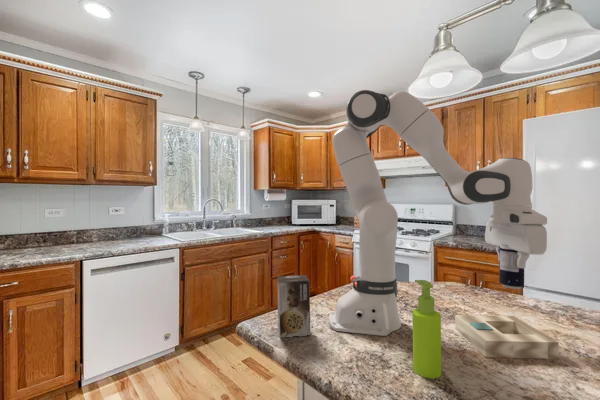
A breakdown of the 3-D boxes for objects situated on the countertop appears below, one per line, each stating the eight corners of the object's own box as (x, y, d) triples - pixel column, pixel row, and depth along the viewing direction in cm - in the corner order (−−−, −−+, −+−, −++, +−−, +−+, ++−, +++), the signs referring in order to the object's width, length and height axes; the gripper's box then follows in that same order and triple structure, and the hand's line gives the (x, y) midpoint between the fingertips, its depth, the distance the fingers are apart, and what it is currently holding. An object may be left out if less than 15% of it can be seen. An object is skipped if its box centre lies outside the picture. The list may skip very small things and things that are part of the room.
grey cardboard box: (306, 326, 89) (306, 274, 89) (310, 336, 83) (310, 280, 83) (277, 328, 88) (276, 275, 88) (279, 338, 81) (278, 281, 81)
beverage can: (528, 290, 78) (529, 246, 78) (505, 289, 79) (506, 245, 79) (516, 284, 84) (517, 243, 84) (495, 283, 85) (495, 242, 85)
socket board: (485, 357, 71) (485, 339, 71) (455, 328, 87) (455, 313, 87) (558, 358, 70) (558, 341, 70) (514, 329, 86) (514, 314, 86)
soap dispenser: (431, 360, 70) (430, 277, 70) (446, 378, 63) (445, 286, 63) (407, 361, 69) (406, 278, 69) (420, 378, 62) (419, 286, 62)
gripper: (479, 213, 92) (478, 257, 92) (526, 217, 71) (525, 273, 71) (500, 214, 92) (499, 257, 92) (553, 218, 71) (552, 274, 71)
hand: (511, 264), depth 81 cm, fingers closed on beverage can, 6 cm apart
